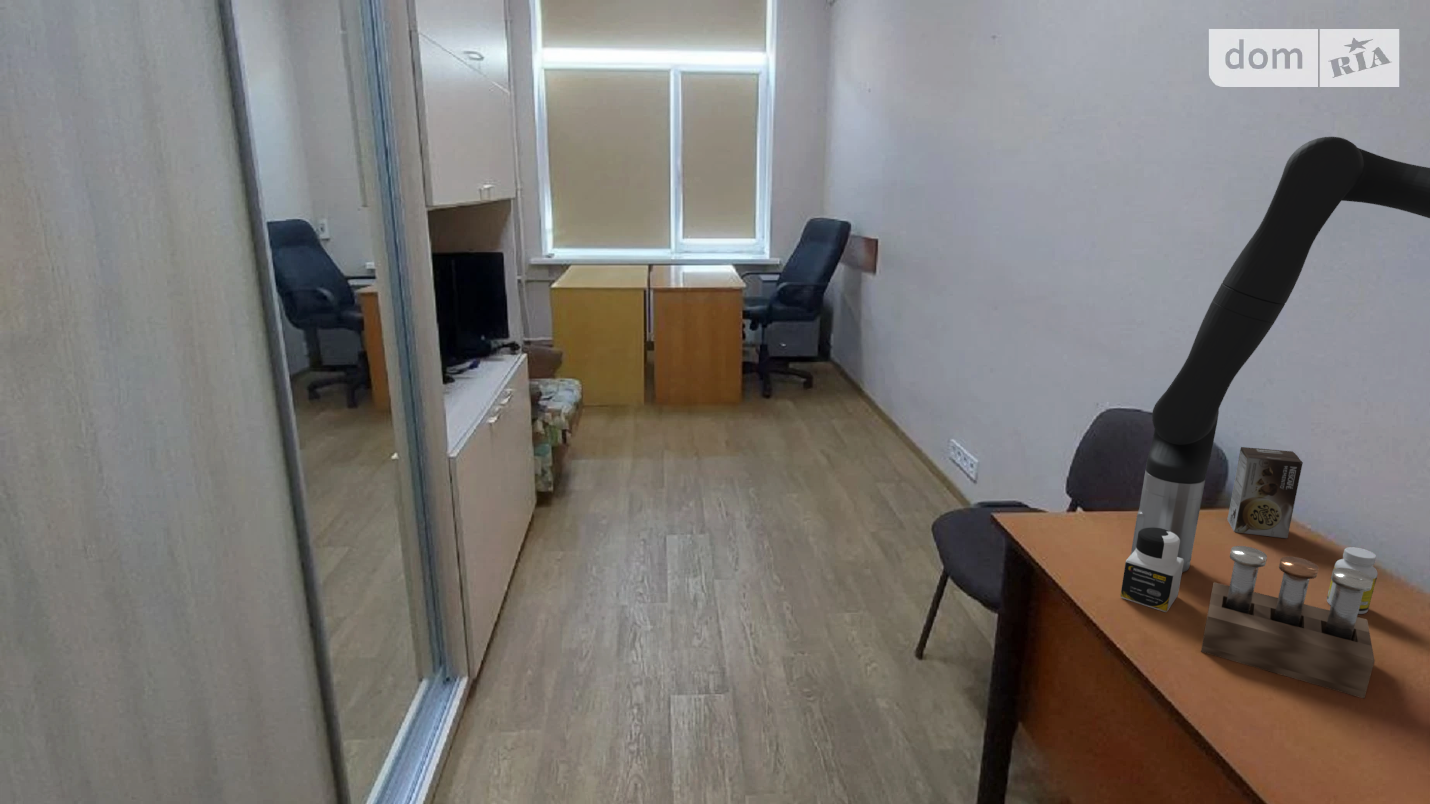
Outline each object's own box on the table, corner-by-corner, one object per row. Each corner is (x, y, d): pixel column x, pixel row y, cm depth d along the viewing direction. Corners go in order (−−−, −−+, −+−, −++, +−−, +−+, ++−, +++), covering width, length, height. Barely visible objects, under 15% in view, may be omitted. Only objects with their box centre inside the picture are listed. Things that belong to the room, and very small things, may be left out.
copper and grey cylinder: (1266, 628, 113) (1280, 565, 110) (1267, 614, 116) (1280, 553, 113) (1304, 638, 110) (1319, 574, 107) (1303, 624, 114) (1317, 561, 111)
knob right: (1318, 641, 109) (1333, 577, 107) (1317, 627, 113) (1332, 564, 110) (1357, 652, 107) (1374, 586, 104) (1355, 637, 110) (1371, 573, 108)
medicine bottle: (1119, 598, 130) (1129, 533, 126) (1132, 582, 135) (1142, 519, 131) (1166, 613, 125) (1178, 546, 122) (1178, 596, 130) (1189, 531, 127)
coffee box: (1278, 526, 156) (1294, 450, 151) (1288, 539, 150) (1305, 461, 145) (1225, 519, 159) (1240, 445, 154) (1233, 532, 153) (1248, 456, 148)
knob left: (1218, 615, 116) (1230, 554, 113) (1220, 602, 120) (1232, 543, 117) (1253, 624, 114) (1266, 562, 111) (1254, 611, 117) (1267, 550, 114)
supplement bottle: (1375, 616, 124) (1390, 561, 121) (1337, 613, 125) (1350, 558, 122) (1355, 599, 129) (1369, 546, 126) (1319, 596, 130) (1331, 543, 127)
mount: (1201, 651, 115) (1207, 616, 113) (1207, 615, 125) (1213, 582, 123) (1364, 698, 105) (1374, 660, 103) (1357, 655, 114) (1367, 619, 112)
